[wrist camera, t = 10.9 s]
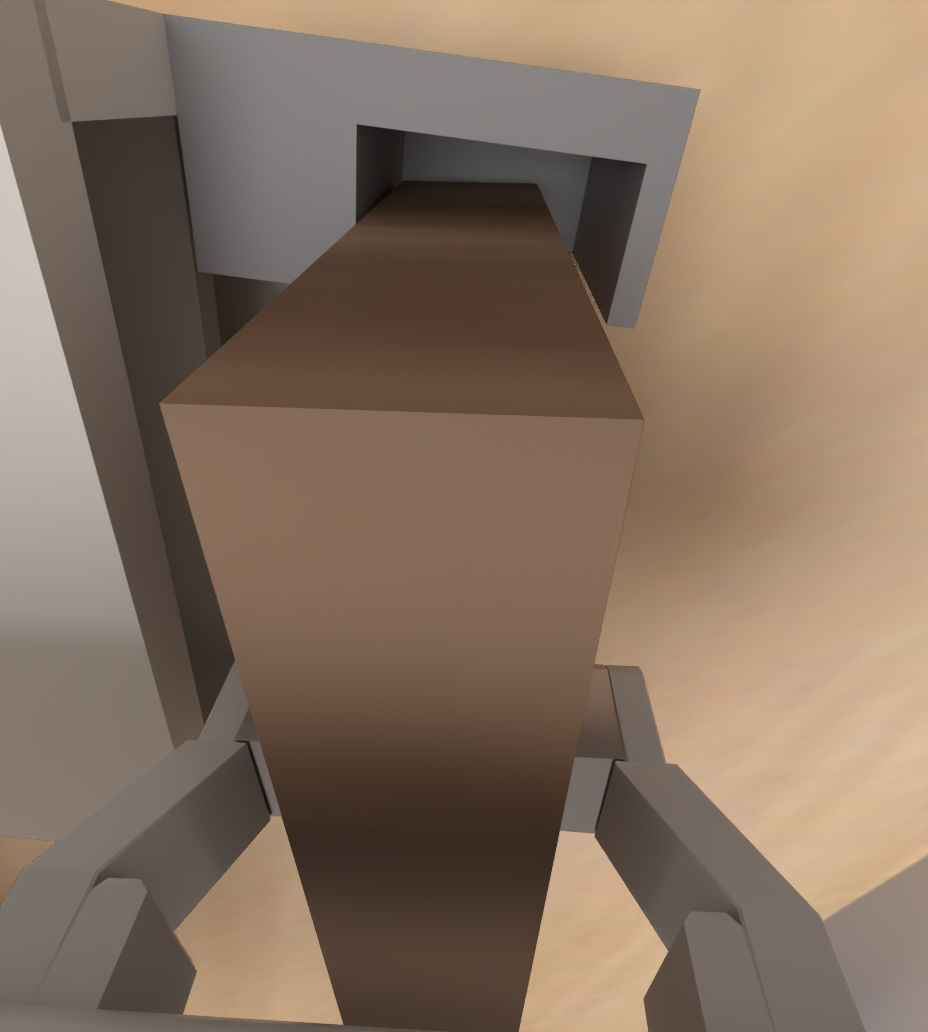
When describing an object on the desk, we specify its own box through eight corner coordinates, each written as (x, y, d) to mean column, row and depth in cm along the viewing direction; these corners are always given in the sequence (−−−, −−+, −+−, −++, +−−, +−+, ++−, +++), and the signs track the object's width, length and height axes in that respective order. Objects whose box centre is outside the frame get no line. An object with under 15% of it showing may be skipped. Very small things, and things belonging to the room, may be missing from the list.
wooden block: (536, 587, 20) (573, 1047, 11) (418, 582, 20) (346, 1032, 11) (581, 184, 13) (811, 425, 4) (403, 180, 14) (159, 403, 4)
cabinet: (513, 586, 24) (523, 888, 15) (4, 527, 23) (-312, 804, 14) (620, 92, 14) (823, 86, 5) (-222, -27, 14) (-1539, -249, 5)
